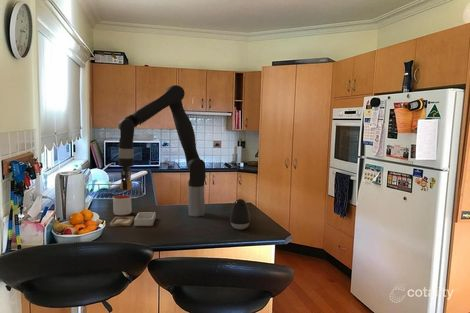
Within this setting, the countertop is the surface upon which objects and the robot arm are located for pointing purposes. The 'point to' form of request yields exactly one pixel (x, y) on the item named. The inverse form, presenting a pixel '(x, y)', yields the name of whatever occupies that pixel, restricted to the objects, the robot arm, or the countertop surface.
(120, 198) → the cup
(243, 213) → the black tapered speaker
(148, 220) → the bin
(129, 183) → the ball
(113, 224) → the tray
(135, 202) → the countertop surface
